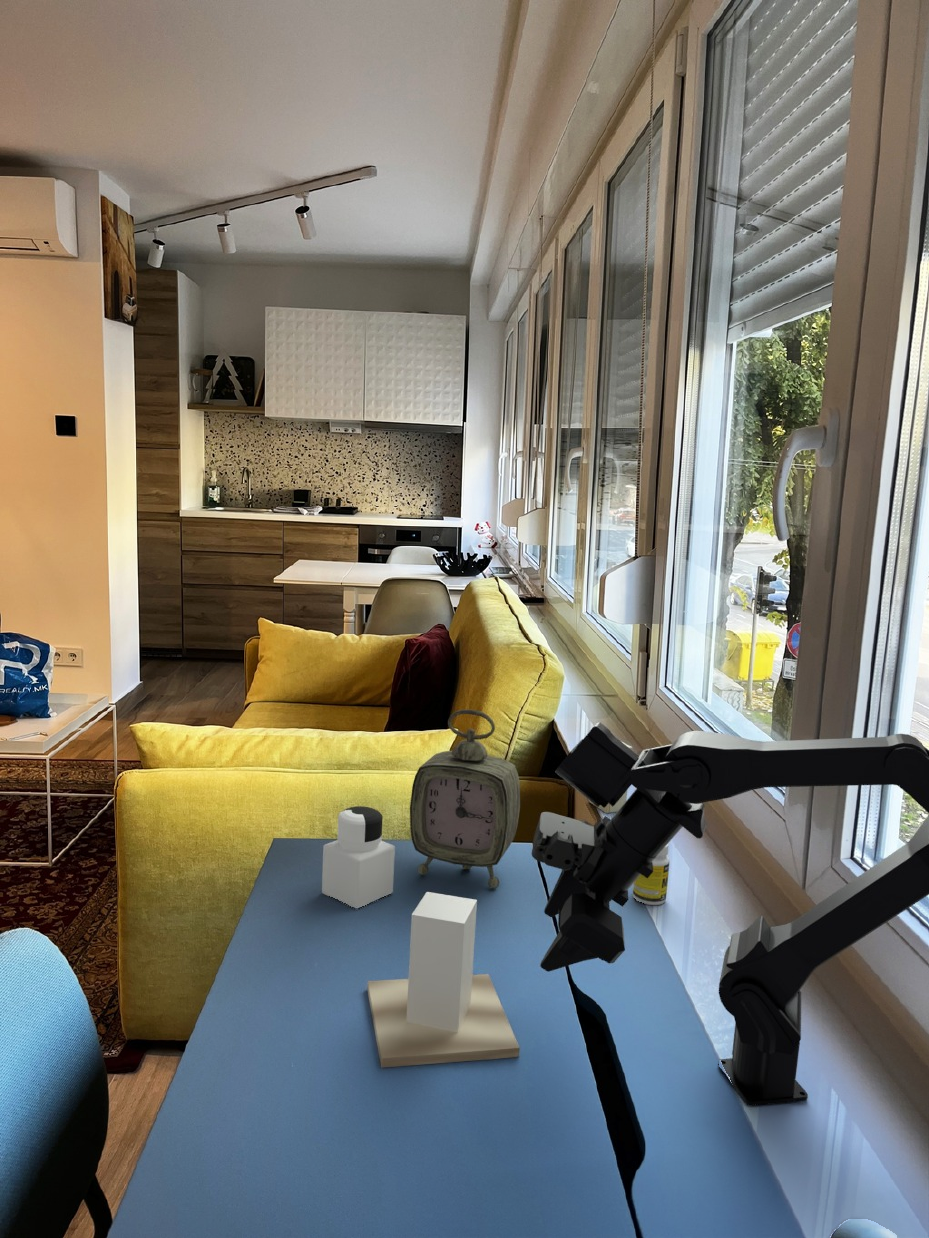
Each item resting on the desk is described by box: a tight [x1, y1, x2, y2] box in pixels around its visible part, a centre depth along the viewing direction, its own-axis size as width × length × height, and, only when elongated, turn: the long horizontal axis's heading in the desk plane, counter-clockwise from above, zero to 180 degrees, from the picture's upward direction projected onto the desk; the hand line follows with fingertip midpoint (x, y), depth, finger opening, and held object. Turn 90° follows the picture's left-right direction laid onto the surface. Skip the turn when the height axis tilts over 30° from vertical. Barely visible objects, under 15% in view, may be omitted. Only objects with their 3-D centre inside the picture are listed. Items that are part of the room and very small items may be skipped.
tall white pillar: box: [406, 891, 478, 1032], centre depth 97 cm, size 6×6×12 cm
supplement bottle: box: [632, 843, 671, 906], centre depth 130 cm, size 5×5×8 cm
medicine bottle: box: [321, 805, 396, 908], centre depth 126 cm, size 7×7×12 cm
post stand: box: [366, 973, 520, 1069], centre depth 98 cm, size 14×14×4 cm
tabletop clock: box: [409, 708, 521, 889], centre depth 133 cm, size 14×9×25 cm, turn 73°
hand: (545, 940), depth 97 cm, fingers open, 9 cm apart
